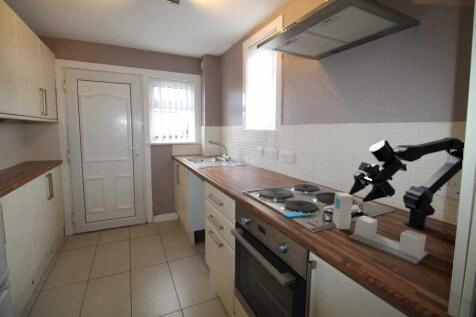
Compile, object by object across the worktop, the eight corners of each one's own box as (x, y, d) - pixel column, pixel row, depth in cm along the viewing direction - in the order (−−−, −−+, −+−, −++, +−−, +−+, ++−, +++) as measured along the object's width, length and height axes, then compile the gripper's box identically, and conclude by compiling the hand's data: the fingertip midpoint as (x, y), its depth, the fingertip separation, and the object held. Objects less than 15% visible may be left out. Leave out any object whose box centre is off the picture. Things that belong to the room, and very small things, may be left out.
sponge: (280, 212, 106) (287, 215, 101) (303, 209, 110) (311, 212, 105) (280, 215, 106) (287, 219, 101) (303, 213, 110) (311, 216, 105)
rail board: (363, 230, 91) (365, 213, 90) (427, 254, 75) (430, 234, 74) (349, 237, 85) (351, 219, 84) (416, 264, 69) (419, 242, 68)
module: (343, 223, 97) (346, 192, 95) (349, 229, 92) (353, 196, 90) (332, 223, 97) (334, 192, 95) (338, 229, 92) (341, 196, 90)
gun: (351, 200, 117) (368, 207, 108) (350, 207, 118) (367, 214, 108) (320, 205, 111) (335, 213, 102) (320, 212, 112) (335, 221, 103)
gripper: (359, 152, 101) (332, 177, 101) (391, 159, 82) (357, 189, 83) (375, 171, 102) (348, 196, 103) (409, 181, 84) (376, 211, 85)
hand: (356, 197), depth 93 cm, fingers open, 9 cm apart
